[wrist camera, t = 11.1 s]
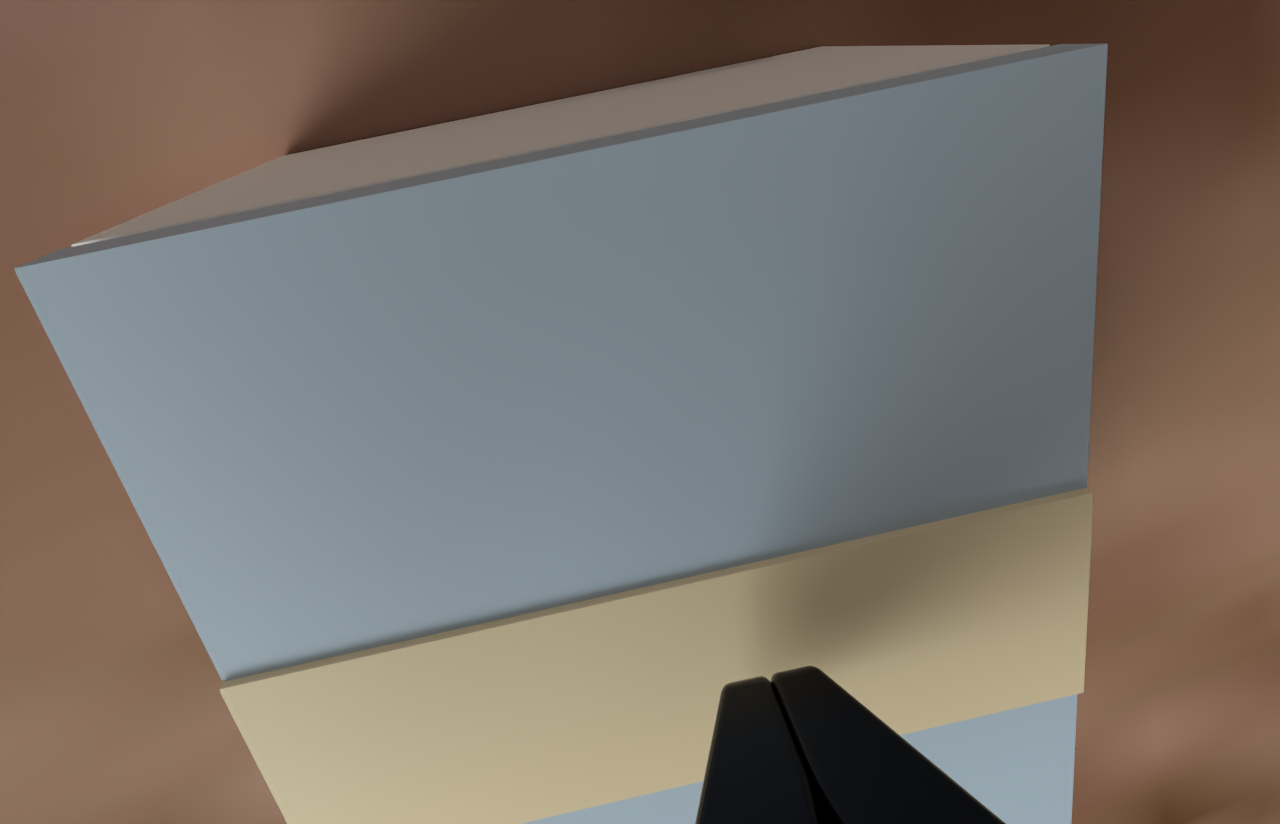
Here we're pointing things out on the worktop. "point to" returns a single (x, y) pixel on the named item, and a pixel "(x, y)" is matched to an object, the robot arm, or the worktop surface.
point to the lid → (629, 447)
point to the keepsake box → (553, 126)
